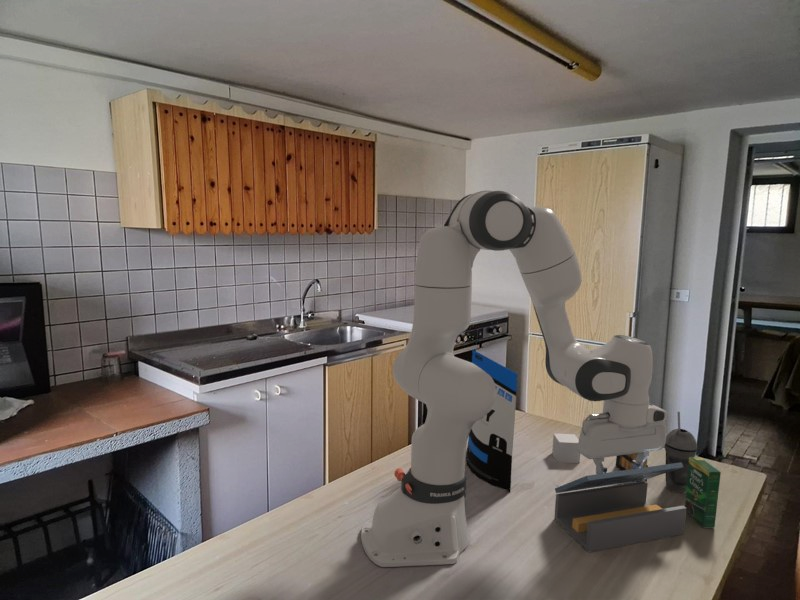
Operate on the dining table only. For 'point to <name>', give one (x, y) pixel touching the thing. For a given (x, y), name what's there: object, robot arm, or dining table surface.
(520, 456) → the dining table surface
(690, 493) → the coffee box
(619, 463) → the ammunition clip
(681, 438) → the beverage cup
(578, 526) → the amber wooden bar
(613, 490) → the duct trough
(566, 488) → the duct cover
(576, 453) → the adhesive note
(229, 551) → the dining table surface
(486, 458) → the protein powder
